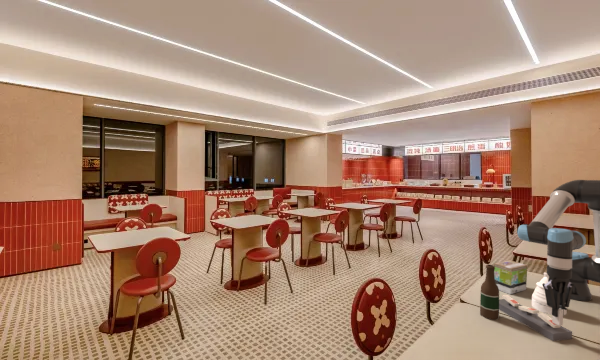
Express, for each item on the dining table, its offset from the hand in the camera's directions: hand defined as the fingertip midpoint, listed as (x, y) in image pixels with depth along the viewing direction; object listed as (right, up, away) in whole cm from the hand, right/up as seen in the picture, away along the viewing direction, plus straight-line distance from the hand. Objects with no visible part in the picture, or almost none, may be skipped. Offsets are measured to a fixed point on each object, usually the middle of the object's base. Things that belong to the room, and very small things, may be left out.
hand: (557, 323), depth 114 cm
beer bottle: (-16, -5, +17) cm, 24 cm away
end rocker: (0, 0, +4) cm, 4 cm away
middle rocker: (-2, 0, +12) cm, 13 cm away
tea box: (+15, -4, +46) cm, 48 cm away
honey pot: (+17, -5, +23) cm, 29 cm away
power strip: (-2, -5, +13) cm, 14 cm away
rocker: (-3, 0, +21) cm, 22 cm away
